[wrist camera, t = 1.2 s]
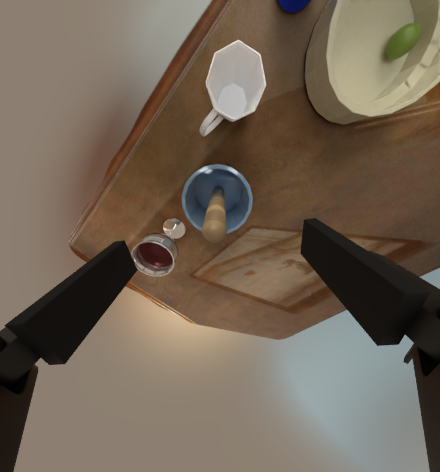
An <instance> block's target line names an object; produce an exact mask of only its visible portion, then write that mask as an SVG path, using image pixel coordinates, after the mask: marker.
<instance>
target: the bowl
mask: <svg viewBox="0 0 440 472" xmlns="http://www.w3.org/2000/svg"><path fill="white" fill-rule="evenodd" d="M409 23H417V24H419V25H420V27H421V34H420V37H419V39H418V41H417V43H416V44H415V46H414V47H413V48H412V49H411V50H410V51H409V52H408V53H407V54H405V55H404V56H402V57H400V58H398V59H389V58H387V56H386V47H387V44H388V42H389V40H390V39H391V37H392V36H393V35H394V34H395V33H396V32H397V31H398V30H399V29H400V28H401V27H403V26H405V25H407V24H409ZM305 81H306V87H307V92H308V97H309V99H310V101H311V103H312V105H313V106H314V108H315V110H316V112H317V113H319V114H320V115H321V116H323V117H324V118H325V119H326V120H328V121H330V122H334V123H338V124H343V125H344V124H350V123H357V122H362V121H365V120H369V119H373V118H377V117H380V116H384V115H388V114H391V113H394V112H396V111H398V110H400V109H402V108H404V107H406V106H408V105H410V104H412V103H414V102H415V101H416V100H418V99H419V98H420V97H421V96H423V95H424V94H425V93H427V92H428V91H429V90H430V89H432V88H433V87H434V86H435V85H436V84H437V83H438V82H439V81H440V0H328V2H327V4H326V6H325V8H324V9H323V11H322V13H321V15H320V17H319V19H318V21H317V22H316V24H315V27H314V30H313V33H312V36H311V40H310V43H309V46H308V50H307V55H306V67H305Z"/></svg>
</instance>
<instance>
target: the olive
mask: <svg viewBox="0 0 440 472" xmlns="http://www.w3.org/2000/svg"><path fill="white" fill-rule="evenodd" d="M420 34H421V27H420V25H419V24H417V23H409V24H407V25H405V26H403V27H401V28H400V29H399V30H398V31H397V32H396V33H395V34H394V35H393V36H392V37H391V39H390V40H389V42H388V44H387V47H386V56H387V58H389V59H398V58H400V57H402V56H404V55H405V54H407V53H408V52H409V51H410V50H411V49H412V48H413V47H414V46H415V44H416V43H417V41H418V39H419V37H420Z"/></svg>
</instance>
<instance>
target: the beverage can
mask: <svg viewBox="0 0 440 472" xmlns="http://www.w3.org/2000/svg"><path fill="white" fill-rule="evenodd" d="M309 1H310V0H278V2H279V4H280V5H281V7H282V8H283V9H284V10H285V11H287V12H290V13H294V12H298V11H300V10H302V9H303V8H304V7H305V6H306V5H307V4H308V3H309Z"/></svg>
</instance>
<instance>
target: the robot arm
mask: <svg viewBox="0 0 440 472" xmlns="http://www.w3.org/2000/svg"><path fill="white" fill-rule="evenodd" d="M301 255H302V256H303V257H304V258H305V259H306V261H307V262H308V263H309V264H310V265H311V267H312V268H313V269H314V270H315V271H316V273H317V274H318V275H319V276H320V277H321V279H322V280H323V281H324V282H325V283H326V285H327V286H328V287H329V288H330V289H331V291H332V292H333V293H334V294H335V295H336V297H337V298H338V299H339V300H340V301H341V303H342V304H343V305H344V306H345V307H346V309H347V310H348V311H349V312H350V313H351V314H352V316H353V317H354V318H355V319H356V321H357V322H358V323H359V324H360V325H361V326H362V328H363V329H364V330H365V331H366V333H368V335H369V336H370V337H371V339H372V340H373V341H374V342H375V343H376V344H377V346H379V345H397V344H399V343H400V341H401V340H402V338H403V336H404V335H406V336H408V337H409V338H410V339H411V340H412V341H413V342H414V344H413V346H412V347H411V349H410V350H409V351H408V353H407V354H406V356H405V358H404V362H405V363H407V364H408V363H409V362H410V360H411V359H413V364H414V370H415V377H416V383H417V390H418V396H419V403H420V408H421V416H422V423H423V429H424V435H425V442H426V448H427V455H428V462H429V468H430V472H440V289H438V288H437V287H435V286H433V285H431V284H430V283H428V282H427V281H425V280H423V279H421V278H420V277H418V276H416V275H415V274H413V273H411V272H410V271H406V269H405V268H403V267H401V266H400V265H396V263H395V262H393V261H391V260H390V259H388V258H386V257H385V256H382V255H380V254H377V253H374V252H372V251H367V250H365V249H363V248H362V247H360V246H359V245H357V244H356V243H354V242H352V241H351V240H349V239H348V238H346V237H344V236H343V235H341V234H340V233H338V232H336V231H335V230H333V229H332V228H330V227H329V226H327V225H325V224H324V223H322V222H321V221H319V220H317V219H316V218H314V219H305V220H304V225H303V234H302V243H301ZM137 270H138V269H137V267H136V265H135V263H134V261H133V258H132V256H131V254H130V252H129V250H128V247H127V245H126V243H125V241H116V242H114V243H112V244H111V245H110V246H108V247H107V248H106V249H104V250H103V251H102V252H100V253H99V254H98V255H97V256H95V257H94V258H93V259H91V260H90V261H89V262H87V263H86V264H85V265H83V266H82V267H81V268H79V269H78V270H77V271H76V272H74V273H73V274H72V275H71V276H69V277H68V278H66V279H65V280H64V281H63V282H61V283H60V284H58V285H57V286H56V287H54V288H53V289H52V290H51V291H49V292H48V293H47V294H45V295H44V296H43V297H42V298H40V299H39V300H38V301H36V302H35V303H34V304H32V305H31V306H30V307H28V308H27V309H26V310H24V311H23V312H22V313H20V314H19V315H18V316H17V317H15V318H14V319H12V320H11V321H10V322H8V323H7V324H6V325H5V326H6V327H5V328H4V329H2V330H1V331H0V472H13V471H14V466H15V463H16V459H17V455H18V451H19V447H20V443H21V439H22V434H23V430H24V426H25V422H26V419H27V414H28V410H29V406H30V402H31V398H32V394H33V390H34V386H35V382H36V378H37V374H38V367H37V366H36V365H35V363H36V362H37V361H38V360H39V359H40V358H42V359H43V360H44V361H45V362H47V363H48V364H49V365H56V364H65V363H66V362H67V360H68V359H69V358H70V357H71V355H72V354H73V353H74V352H75V350H76V349H77V348H78V346H79V345H80V344H81V342H82V341H83V340H84V339H85V337H86V336H87V335H88V333H89V332H90V331H91V330H92V328H93V327H94V326H95V324H96V323H97V321H98V320H99V319H100V318H101V316H102V315H103V314H104V313H105V311H106V310H107V309H108V308H109V306H110V305H111V304H112V302H113V301H114V300H115V298H116V297H117V296H118V294H119V293H120V292H121V291H122V289H123V288H124V287H125V285H126V284H127V283H128V282H129V280H130V279H131V278H132V276H133V275H134V274H135V273H136V271H137Z"/></svg>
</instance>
